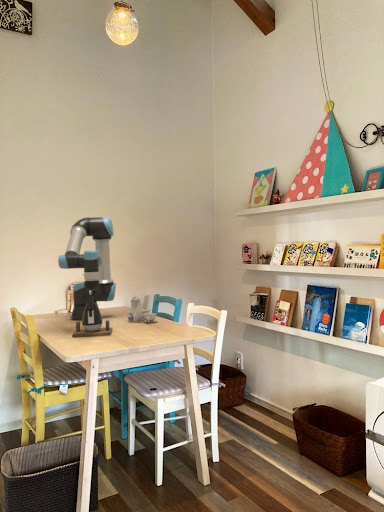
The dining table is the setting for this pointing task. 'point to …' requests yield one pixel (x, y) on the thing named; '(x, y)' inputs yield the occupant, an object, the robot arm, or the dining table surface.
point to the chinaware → (139, 312)
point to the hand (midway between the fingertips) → (92, 320)
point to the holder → (100, 332)
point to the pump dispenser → (97, 319)
